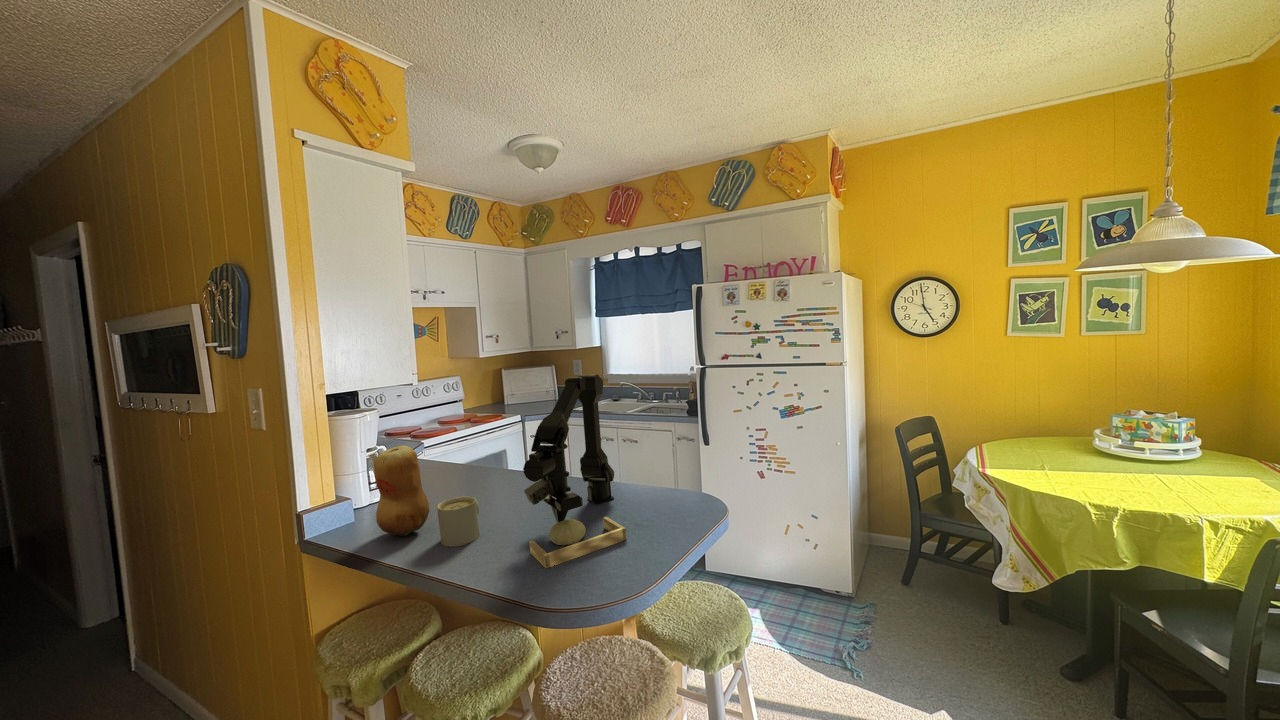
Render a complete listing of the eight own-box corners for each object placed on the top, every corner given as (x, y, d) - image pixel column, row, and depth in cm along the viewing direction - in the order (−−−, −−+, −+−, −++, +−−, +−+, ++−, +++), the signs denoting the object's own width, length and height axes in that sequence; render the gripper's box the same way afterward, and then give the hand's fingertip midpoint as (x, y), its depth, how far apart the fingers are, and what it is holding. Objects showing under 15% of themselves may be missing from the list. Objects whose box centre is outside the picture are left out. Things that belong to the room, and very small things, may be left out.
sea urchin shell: (543, 530, 134) (562, 505, 136) (565, 546, 137) (584, 521, 138) (549, 544, 126) (569, 517, 127) (573, 560, 128) (593, 534, 129)
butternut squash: (368, 542, 140) (356, 454, 138) (404, 522, 153) (394, 441, 150) (408, 545, 136) (397, 455, 133) (442, 524, 148) (432, 441, 146)
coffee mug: (459, 549, 131) (455, 511, 130) (433, 543, 136) (428, 507, 135) (496, 528, 143) (492, 493, 142) (470, 523, 148) (466, 490, 147)
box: (607, 527, 137) (606, 516, 137) (626, 539, 129) (625, 528, 129) (530, 553, 126) (529, 541, 125) (546, 568, 117) (545, 556, 117)
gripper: (514, 468, 138) (519, 523, 140) (540, 485, 123) (545, 546, 124) (551, 459, 144) (556, 512, 146) (581, 474, 129) (586, 533, 130)
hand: (560, 525), depth 136 cm, fingers closed
